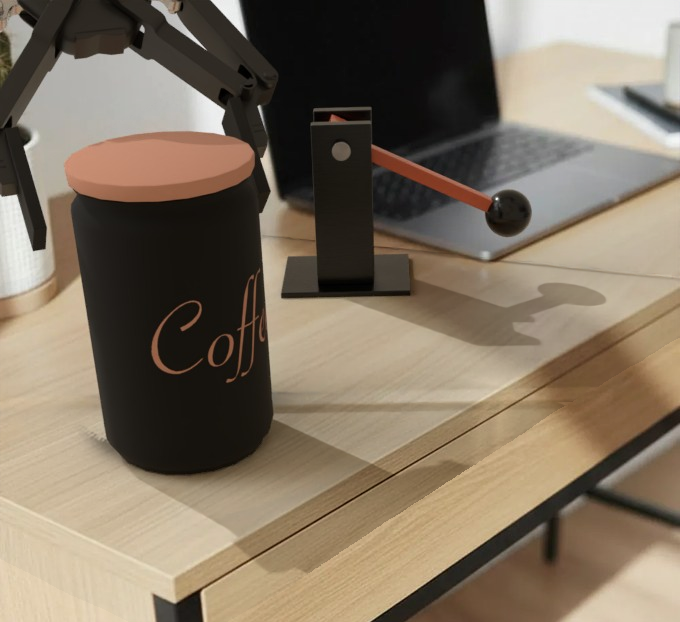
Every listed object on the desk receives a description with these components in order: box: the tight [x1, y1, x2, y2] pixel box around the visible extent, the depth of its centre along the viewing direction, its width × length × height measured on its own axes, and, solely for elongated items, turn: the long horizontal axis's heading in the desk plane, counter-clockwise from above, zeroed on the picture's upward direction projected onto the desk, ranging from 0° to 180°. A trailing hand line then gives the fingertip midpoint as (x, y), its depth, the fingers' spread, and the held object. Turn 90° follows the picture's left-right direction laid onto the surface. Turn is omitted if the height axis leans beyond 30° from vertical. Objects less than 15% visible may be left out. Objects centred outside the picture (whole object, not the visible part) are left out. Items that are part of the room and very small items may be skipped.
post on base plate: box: [280, 106, 411, 299], centre depth 93 cm, size 10×8×14 cm
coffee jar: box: [63, 130, 274, 476], centre depth 72 cm, size 11×11×18 cm
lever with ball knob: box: [329, 114, 533, 238], centre depth 92 cm, size 17×4×4 cm, turn 88°
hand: (153, 221), depth 72 cm, fingers open, 13 cm apart
